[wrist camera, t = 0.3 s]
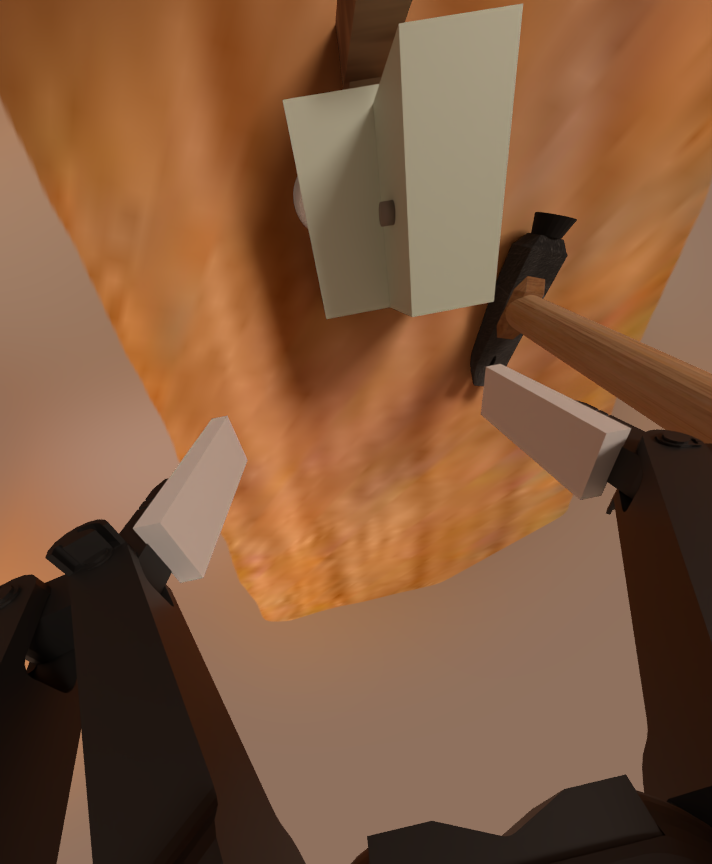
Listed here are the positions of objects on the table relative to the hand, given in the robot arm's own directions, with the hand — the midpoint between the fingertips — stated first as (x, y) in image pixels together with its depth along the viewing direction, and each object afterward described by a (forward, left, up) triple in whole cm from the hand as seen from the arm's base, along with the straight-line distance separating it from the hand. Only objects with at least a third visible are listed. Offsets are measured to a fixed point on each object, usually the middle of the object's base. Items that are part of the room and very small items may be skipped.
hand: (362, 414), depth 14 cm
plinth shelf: (-10, +6, -27) cm, 30 cm away
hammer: (+2, +24, -27) cm, 37 cm away
